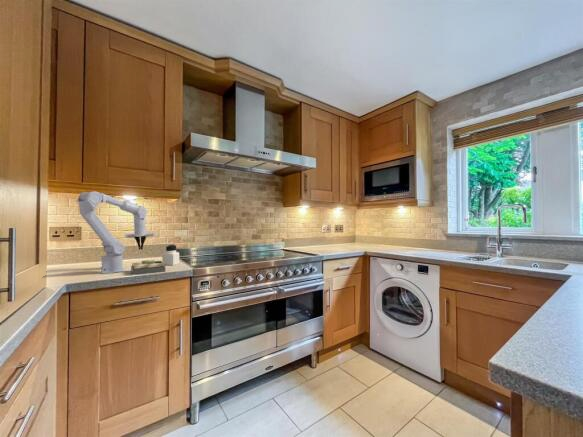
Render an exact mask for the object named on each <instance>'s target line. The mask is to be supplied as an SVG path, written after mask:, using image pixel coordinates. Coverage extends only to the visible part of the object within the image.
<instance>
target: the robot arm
mask: <svg viewBox="0 0 583 437" xmlns="http://www.w3.org/2000/svg"><path fill="white" fill-rule="evenodd" d="M76 201H77V202H78V208H79V214H80V216H81V217H82V218H83V219H84V221H85V222H86V224H88V225H89V227H90V228H91V230H93V232H94V233H95V235H96V236H97V237H98V238H99V239H100V241H101V246H102V247H103V250H104V252H105V254H106V255H102V256H101V266H100V271H101V274H111V273H112V274H113V273H123V272H124V271H125V270H124V268H123V255H124V254H123V253H125V250H126V246H125V244H124V243H122V242H120V240H119V239H118V238H115V237H114V236H113V234H112V233H111V232H110V230H109V229H108V228H107V227H106V225H105V224H104V223H103V221H102V220H101V219H100V217H99V216H98V215H97V213H96V209H97V208H98V206H99V205H100V204H101V203H106V204H109V205H113V206H116V207H119V210H121V211H123V212H127V213H129V214H132V215H133V227H134V228H133V230H134V233H127V234H125V239H131V238H134V240H135V242H136V243H137V247H138V250H143V248H144V245H145V241H146V239H147V238H149V237H155V232H147V231H146V230H147V228H146V227H147V226H146V215H147V214H148V209H147V208H146V207H145V206H144V205H139V204H138V203H133V202H131V200H129V199H127V200H125V199H124V200H119V199H117V198H115V197H112V196H110V195H108V194H105V193H103V192H98V191H89V192H87V191H83V192H81V193H79V196H78V198H77V200H76Z"/></svg>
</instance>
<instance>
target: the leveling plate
mask: <svg viewBox="0 0 583 437" xmlns="http://www.w3.org/2000/svg"><path fill="white" fill-rule="evenodd" d="M131 266H133V268H134V269H138V268H149V267H160V266H165V265H164V263H163V262H162V260H154V259H151V260H150V259H149V260H142V261H141V262H132V263H131Z"/></svg>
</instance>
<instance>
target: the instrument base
mask: <svg viewBox="0 0 583 437" xmlns="http://www.w3.org/2000/svg"><path fill="white" fill-rule="evenodd" d="M130 270H131V274H132V276H135V275H145V274H146V275H147V274H156V273H163V272H164V273H165V272H166V265H164V266H160V267H149V268H138V269H134V268H133V266H132V265H131V266H130Z"/></svg>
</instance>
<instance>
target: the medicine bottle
mask: <svg viewBox="0 0 583 437" xmlns="http://www.w3.org/2000/svg"><path fill="white" fill-rule="evenodd" d="M161 255H162V258H161V259H162V260H161V261H162V262H163V263H164V266H172V265H173V266H176V265H179V264H180V252H178V251H177V245H175V244H168V245H166V246H165V252H164V253H162V254H161Z"/></svg>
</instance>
